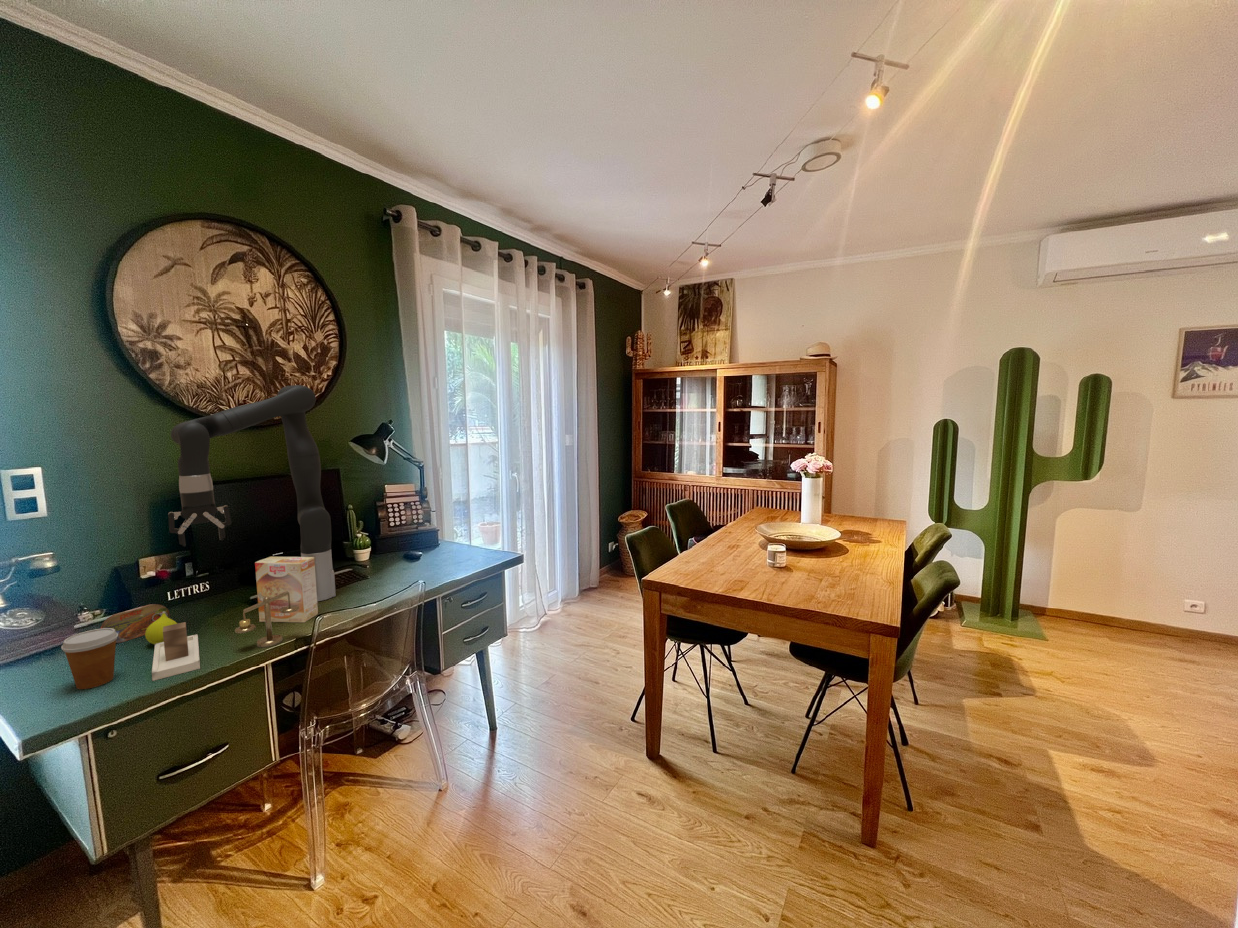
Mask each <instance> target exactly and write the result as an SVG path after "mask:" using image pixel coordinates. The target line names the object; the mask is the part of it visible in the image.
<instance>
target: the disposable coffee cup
mask: <svg viewBox="0 0 1238 928" xmlns="http://www.w3.org/2000/svg"><path fill="white" fill-rule="evenodd" d="M117 637H118V633H116V631H115V629H112V628H102V629H101V628H96V629H90V630H87V631H83V632H79V633H76V634H73V635H70V636H69V637H67V638H65V639H64V640H63V643H62V645H61V646H60V649H61V650H62V651H63V652H64V653H65V656H66V659H67V662H68V667H69V669H70V673H71V675H72V678H73V681H74V683H75V686H76V687H75V688H76V689H77V690H88V689H93V688H96V687H100V686H103V685H104V684H108V683H110V682H111V681H112V680H113V679H114V675H115V659H116V646H117V643H116V639H117Z"/></svg>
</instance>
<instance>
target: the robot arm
mask: <svg viewBox="0 0 1238 928" xmlns="http://www.w3.org/2000/svg"><path fill="white" fill-rule="evenodd" d="M316 399H317V397H316V393H315V392H314V391H313V390H312V389H311V388H310V387H308V386H306V385H301V384H294V385H293V384H292V385H286V386H283V387H280V389H279V390H278V392H277V394H276V395H274V396H272V397H270V398H266V399H263V400H258V401H255V402H250V403H246V404H242V405H237V406H235V407H231V408H228V409H225V410H224V409H223V410H222V411H218V412H215V413H212V414H209V415H207V416H202V417H198V418H193V419H191V420H186V421H183V422H180V423H177V424H176V425H174V426H173V427H172V428H171V431H170V437H171V439H172V441H173V442H174V443H176V444H178V445H179V446H180V449H179V450H180V456H179V457H178V459H177V469H178V477H179V478H178V488H179V489H178V490H179V495H180V496H179V497H180V502H181V503H180V504H181V511H174V512H173V511H169V512H168V514H167V515H168V531H169V533H170V534H176V535H177V537H178V543H179V545H180V546H181V545H182V547H186V546H187V543H186V534H185V531H186V530H187V529H188V528H189V526H190V525H199V524H206V523H209V522H212V523H213V524H214V525H216V526H217V527H218V528H217V529H218V537H219V541H223V540H224V539H225V538H226V531H225V528H226V527H228V526H231V525H232V519H231V513H230V507H229V506H228V505H227V504H225V505H223V506H218V507H217V506H216V502H215V494H214V485H213V478H212V476H211V469H210V463H209V455H210V446H211V445H210V443H211V439H212V438H216V437H220V436H226V435H230V434H233V433H236V432H239V431H241V430H244V429H247V428H249V427H253V426H255V425H258V424H260V423H263V422H266V421H268V420H271V419H275V418H278V417H281V422H282V425H283V430H284V437H285V438H284V439H285V444H286V452H287V460H288V465H289V469H290V470H289V471H290V475H291V479H292V482H293V486H294V489H295V493H296V503H297V504H296V505H297V522H298V524H299V528H300V529H299V530H300V548H299V549H300V557H314V563H315V577H316V592H317V602H323V601H326V600H329V599H331V598H334V597H336V579H335V570H334V568H333V558H332V556H333V555H332V539H333V538H332V522H331V515H330V513H329V512H328V510H326V508H325V505H324V502H323V497H322V491H321V482H322V481H321V480H322V479H321V478H322V468H321V467H322V465H321V458H320V451H319V448H318V445H317V443H316V441H315V439H314V437H313V435H312V434H311V431H310V430H309V427H308V423H307V416H306V412H308V411H310V410H311V409H312V408H313V407H314V406H315V404H316V402H317V401H316ZM218 511H219V512H220V513H221V514H224V520H225V521H224V522H222V521H221V520H219V519H218V518H217V517H215V515H216V514H217V513H218ZM179 516H181V517H182V518H183V519H185V520H184V521H183V523H182V524H181V525H180V527H179V528H175V520H178V518H179Z"/></svg>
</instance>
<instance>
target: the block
mask: <svg viewBox="0 0 1238 928" xmlns="http://www.w3.org/2000/svg"><path fill="white" fill-rule="evenodd" d="M187 636H188V634H187V622H186V621H184V622H180V623H179V622H177V624H173V625H169V626H164V627H163V639H164V649H165V658H166V661H169V660H173V659H178V658H182V657H186V656H188V641H187Z"/></svg>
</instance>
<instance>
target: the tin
mask: <svg viewBox="0 0 1238 928" xmlns="http://www.w3.org/2000/svg"><path fill="white" fill-rule="evenodd" d="M163 611H166V612H165V614H166V616H167V617H168V618H170V616H171V615H170V611H169V608H167V607H166V606H165V605H162V604H155V603H153V604H151V603H150V604H146V605H142V606H139V607H135V608H132V609H129V610H125V611H122V612H118V613H114V614H111V615H110V616H108V617H107V618H106V619H105V620H104V621H103V622H102V623H101V626H100V629H102V628H112V629H115V631H116V633H118V637H117V639H116V644H120V643H124V642H128V641H131V640H133V639H137V638H140V637H143V636H145V632H146V630H147V628H148V627H149V626H150V625H151V624H152V623H153V622H155V621H156V620H158V619H159V618H160V617H161V616H162V614H163Z"/></svg>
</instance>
